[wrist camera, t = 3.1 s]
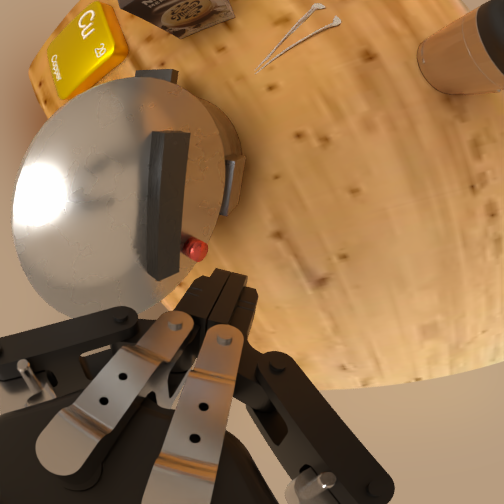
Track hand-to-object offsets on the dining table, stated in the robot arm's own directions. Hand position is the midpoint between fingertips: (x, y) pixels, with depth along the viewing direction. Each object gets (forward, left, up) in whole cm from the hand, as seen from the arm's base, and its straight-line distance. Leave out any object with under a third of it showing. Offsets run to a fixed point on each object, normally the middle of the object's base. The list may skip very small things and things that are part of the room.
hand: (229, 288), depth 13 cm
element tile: (+38, -19, -29) cm, 52 cm away
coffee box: (+16, -24, -29) cm, 41 cm away
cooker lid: (+10, 0, -7) cm, 13 cm away
